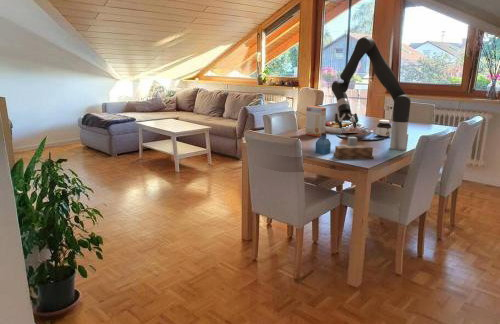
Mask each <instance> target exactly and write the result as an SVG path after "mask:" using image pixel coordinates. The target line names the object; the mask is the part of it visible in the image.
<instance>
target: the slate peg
mask: <svg viewBox="0 0 500 324" xmlns="http://www.w3.org/2000/svg"><path fill="white" fill-rule="evenodd" d="M358 140H359V139H358V137H356V136H347V141H346V146H358Z"/></svg>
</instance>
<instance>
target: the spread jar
mask: <svg viewBox="0 0 500 324" xmlns="http://www.w3.org/2000/svg"><path fill="white" fill-rule="evenodd" d="M390 122H391V121H390V120H388V119H379V123H378V124H377V125H376V127H375V135H376V136H377V137H378V136H379V137H378V138H389V137H391V131H392V124H390Z"/></svg>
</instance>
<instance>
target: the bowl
mask: <svg viewBox="0 0 500 324" xmlns="http://www.w3.org/2000/svg"><path fill="white" fill-rule="evenodd" d="M351 124H353V123H352V122H350V121H342V127H346V126H349V125H351ZM325 133H329V134H334V135H335V134H336V135H342V134H341V129H340V128H339V124H338V123H335V121H328V120H326V123H325Z"/></svg>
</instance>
